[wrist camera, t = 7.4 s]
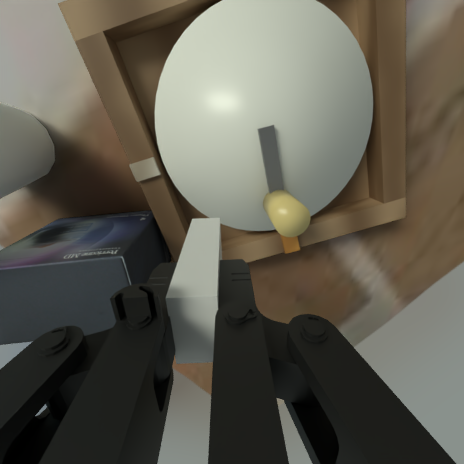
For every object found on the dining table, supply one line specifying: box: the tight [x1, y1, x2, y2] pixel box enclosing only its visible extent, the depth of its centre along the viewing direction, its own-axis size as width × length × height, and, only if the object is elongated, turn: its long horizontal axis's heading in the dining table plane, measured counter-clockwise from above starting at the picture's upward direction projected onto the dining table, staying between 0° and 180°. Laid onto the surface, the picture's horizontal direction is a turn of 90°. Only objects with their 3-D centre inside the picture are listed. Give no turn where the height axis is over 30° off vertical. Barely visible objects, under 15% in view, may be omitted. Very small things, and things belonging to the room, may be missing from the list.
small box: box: [0, 210, 171, 345], centre depth 21 cm, size 11×6×10 cm, turn 95°
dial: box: [155, 0, 373, 237], centre depth 18 cm, size 17×17×6 cm
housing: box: [58, 0, 406, 263], centre depth 20 cm, size 22×22×4 cm
